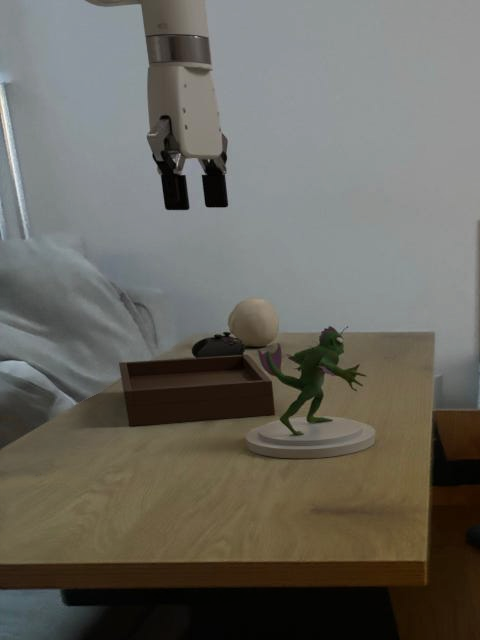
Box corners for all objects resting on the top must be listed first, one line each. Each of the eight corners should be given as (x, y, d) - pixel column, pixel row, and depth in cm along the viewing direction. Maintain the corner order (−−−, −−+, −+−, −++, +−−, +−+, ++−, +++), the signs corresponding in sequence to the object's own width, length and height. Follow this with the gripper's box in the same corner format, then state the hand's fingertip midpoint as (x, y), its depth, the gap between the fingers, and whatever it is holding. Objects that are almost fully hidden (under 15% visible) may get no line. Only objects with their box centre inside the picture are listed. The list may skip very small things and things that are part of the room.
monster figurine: (399, 444, 91) (394, 330, 87) (281, 465, 85) (269, 343, 81) (337, 421, 100) (330, 316, 96) (226, 438, 94) (213, 327, 89)
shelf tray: (129, 426, 99) (123, 391, 97) (123, 393, 114) (118, 362, 112) (275, 414, 103) (271, 380, 102) (251, 384, 118) (248, 354, 117)
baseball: (233, 343, 147) (228, 296, 144) (282, 342, 147) (278, 295, 144) (227, 350, 141) (221, 301, 138) (279, 349, 141) (274, 300, 138)
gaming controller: (188, 350, 135) (216, 316, 134) (219, 376, 138) (247, 344, 137) (192, 362, 127) (222, 326, 126) (225, 389, 129) (255, 355, 129)
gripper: (189, 64, 129) (206, 206, 137) (110, 50, 114) (134, 211, 122) (241, 62, 127) (255, 206, 135) (167, 47, 112) (188, 211, 120)
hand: (197, 208), depth 128 cm, fingers open, 9 cm apart
